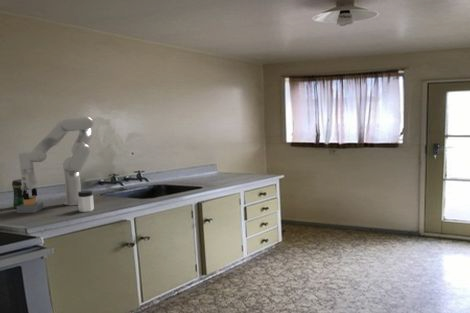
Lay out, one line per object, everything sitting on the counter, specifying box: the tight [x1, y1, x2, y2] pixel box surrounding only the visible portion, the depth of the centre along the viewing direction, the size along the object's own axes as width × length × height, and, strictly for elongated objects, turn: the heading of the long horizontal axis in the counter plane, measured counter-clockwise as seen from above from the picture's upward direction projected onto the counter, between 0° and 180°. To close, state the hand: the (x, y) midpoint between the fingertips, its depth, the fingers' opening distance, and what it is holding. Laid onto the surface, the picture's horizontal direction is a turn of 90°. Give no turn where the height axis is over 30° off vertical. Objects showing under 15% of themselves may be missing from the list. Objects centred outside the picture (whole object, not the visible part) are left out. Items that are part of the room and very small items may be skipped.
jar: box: [77, 189, 95, 213], centre depth 245 cm, size 9×8×12 cm
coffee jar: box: [11, 178, 30, 209], centre depth 259 cm, size 10×8×19 cm
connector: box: [23, 195, 37, 206], centre depth 249 cm, size 6×4×8 cm
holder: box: [15, 201, 44, 214], centre depth 249 cm, size 11×11×4 cm
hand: (30, 197), depth 248 cm, fingers open, 9 cm apart
